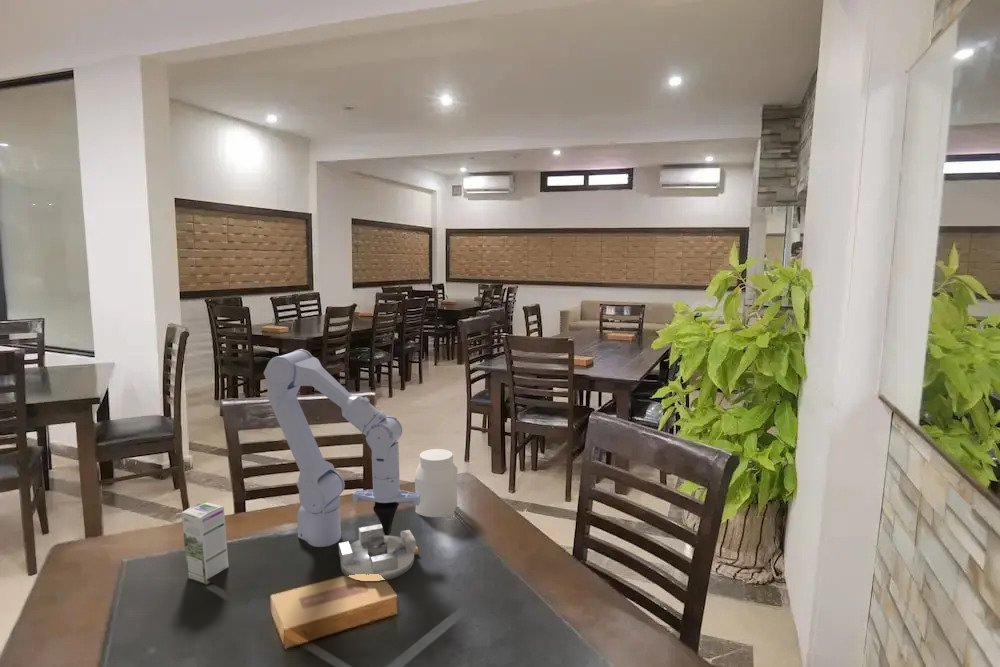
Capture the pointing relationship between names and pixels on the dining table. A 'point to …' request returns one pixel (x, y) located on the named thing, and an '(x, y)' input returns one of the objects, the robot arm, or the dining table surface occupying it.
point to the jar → (436, 484)
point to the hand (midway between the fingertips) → (387, 533)
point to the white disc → (378, 553)
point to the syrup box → (204, 541)
